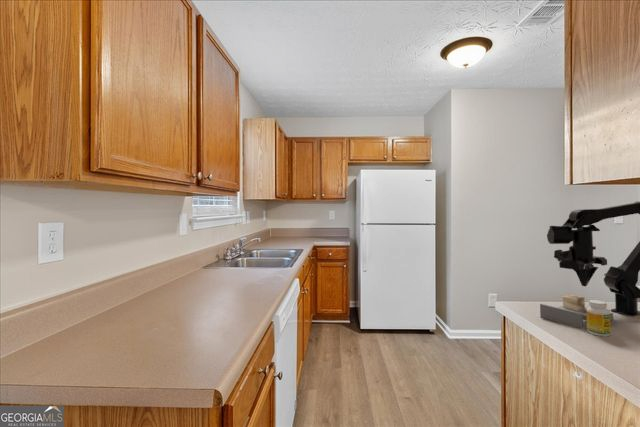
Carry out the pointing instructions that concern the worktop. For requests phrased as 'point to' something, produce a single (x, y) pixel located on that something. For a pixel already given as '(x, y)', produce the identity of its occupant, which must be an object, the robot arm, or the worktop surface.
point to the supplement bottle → (598, 318)
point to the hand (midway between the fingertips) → (584, 286)
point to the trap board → (566, 315)
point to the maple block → (574, 302)
